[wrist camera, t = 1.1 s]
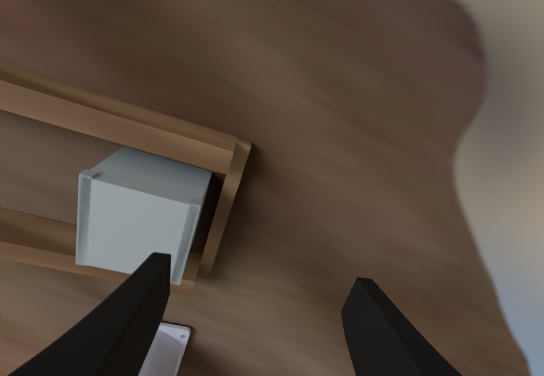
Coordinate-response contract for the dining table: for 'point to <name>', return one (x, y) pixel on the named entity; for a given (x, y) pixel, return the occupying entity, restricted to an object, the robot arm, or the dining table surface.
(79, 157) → the dining table surface
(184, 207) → the box
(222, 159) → the bay
